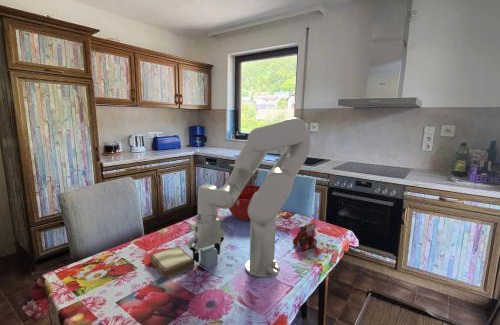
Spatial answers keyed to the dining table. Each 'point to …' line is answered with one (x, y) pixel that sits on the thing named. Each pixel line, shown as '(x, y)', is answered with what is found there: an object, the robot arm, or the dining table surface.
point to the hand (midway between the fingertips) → (206, 256)
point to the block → (209, 256)
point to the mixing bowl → (243, 203)
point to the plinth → (172, 261)
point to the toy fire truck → (305, 237)
